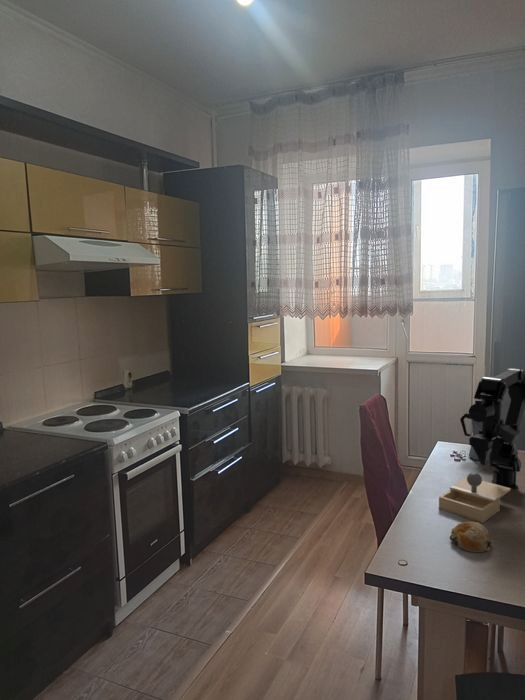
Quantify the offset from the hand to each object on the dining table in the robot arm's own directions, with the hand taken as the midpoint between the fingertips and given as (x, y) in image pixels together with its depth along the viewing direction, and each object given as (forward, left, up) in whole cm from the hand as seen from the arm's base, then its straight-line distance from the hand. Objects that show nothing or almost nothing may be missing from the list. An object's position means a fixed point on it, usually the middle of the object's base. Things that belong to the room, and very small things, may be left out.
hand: (489, 461), depth 170 cm
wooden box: (+11, +9, -12) cm, 18 cm away
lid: (+5, +4, -7) cm, 10 cm away
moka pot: (-14, -35, -12) cm, 40 cm away
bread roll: (+20, +29, -12) cm, 37 cm away
